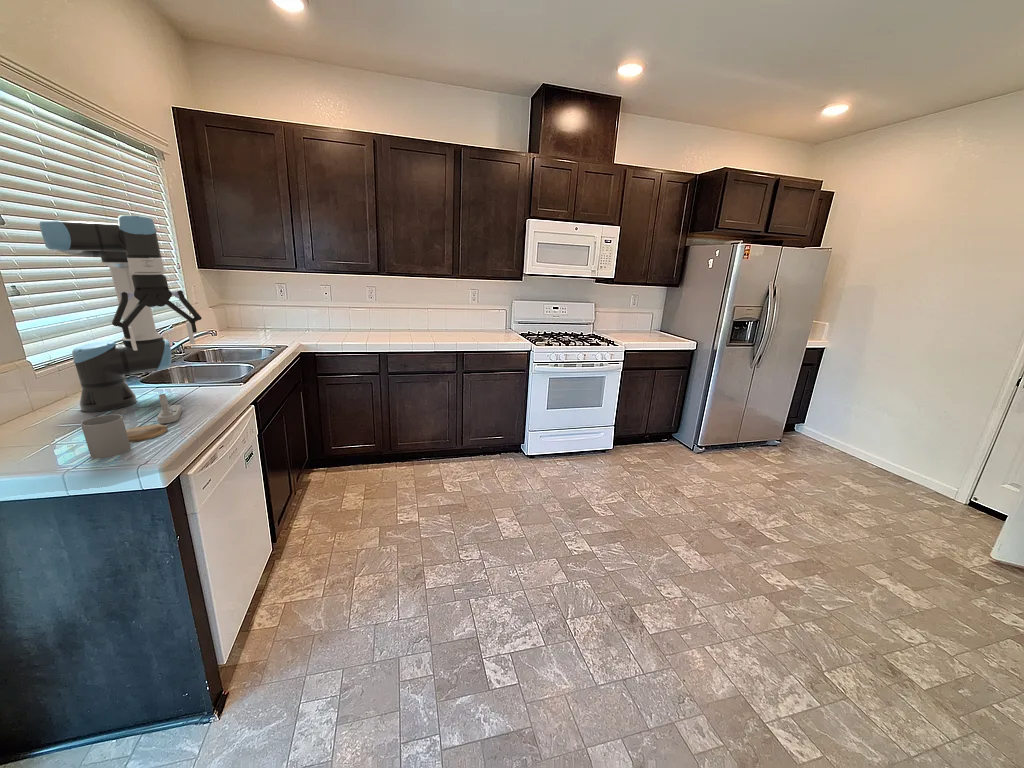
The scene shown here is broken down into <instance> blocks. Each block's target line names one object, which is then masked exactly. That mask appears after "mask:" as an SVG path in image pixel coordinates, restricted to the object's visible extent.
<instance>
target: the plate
mask: <svg viewBox="0 0 1024 768" xmlns="http://www.w3.org/2000/svg"><path fill="white" fill-rule="evenodd" d="M126 431H127V435H128V439H129V442H130V443H133V442H135V443H136V442H141V441H146V440H150V439H155V438H158V437H159V436H162V435H163V434H165V433H167V432H168V427H167V425H164V424H160V423H158V424H156V423H155V424H145V425H141V426H136V427H132V428H129V429H126Z"/></svg>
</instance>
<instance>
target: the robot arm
mask: <svg viewBox="0 0 1024 768" xmlns="http://www.w3.org/2000/svg"><path fill="white" fill-rule="evenodd" d="M117 221H118V223H117V222H116V223H115V222H102V221H101V222H97V221H82V220H80V221H79V220H78V221H77V220H75V221H74V220H73V221H72V220H71V221H66V220H55V219H54V220H53V219H52V220H40V221H39V223H38V226H39V228H40V232H41V237H42V240H43V243H44V245H45V247H46V248H47V249H49V250H53V251H58V252H60V253H63V254H67V255H71V256H77V257H83V258H84V257H85V258H101V259H100V260H101V263H102V264H103V265H105V266H107V267H108V268H109V270H110V274H111V278H112V282H113V285H114V286H113V287H114V290H115V293H116V298H117V302H118V306H117V309H116V312H115V313H114V316H113V319H112V321H111V324H112V325H113V326H114V327H118V328H121V329H122V334H123V336H124V337H123V338H122V343H120V344H118V343H117V342H115V341H113V340H105V341H103V340H102V341H97V342H96V341H95V342H91V343H87V344H83V345H79V346H77V347H75V348H73V350H72V352H71V354H72V358H73V364H74V365H75V369H76V372H77V375H78V379H79V383H80V386H81V395H80V400H79V406H80V407H79V408H80V410H81V411H83V412H87V413H93V412H94V413H95V412H105V411H113V410H116V409H122V408H126V407H129V406H131V405H133V404H136V402H138V400H137V396H136V394H135V393H134V391H133V390H132V389H131V387H130V386H129V384H127V382H126V379H125V376H128V375H135V374H141V373H142V374H143V373H144V374H145V373H150V372H151V373H152V372H158V371H163V370H167V369H169V368H170V367H171V365H172V348H171V344H170V341H169V340H168V339H165V338H164V336H163V335H162V334H161V333H159V332H157V329H156V325H155V320H154V316H153V312H152V308H155V307H160V308H161V307H162V308H163V307H164V306H167V307H169V308H170V309H172V310H173V311H174V312H176V313H177V314H179V315H180V316H181V317H183V318H184V319H185V320H187V321H186V322H185V326H186V328H187V334H188V338H189V343H190V345H195V344H196V341H195V336H194V334H196V333H198V332H197V331H198V330H197V325H196V323H197V322H198V321H201V320H202V316H201V315H200V314H199V313H198V312H197V310H196V309H195V308H194V307H193V306H192V304H191V303H190V302H189V300H187V298H186V297H185V294H184V291H183V290H180V289H176V290H170V289H169V285H168V280H167V276H166V275H165V274H163V273H166V272H165V271H166V270H165V267H164V263H163V262H164V261H163V257H162V255H161V249H160V245H159V244H160V243H159V239H158V236H157V231H158V230H157V228H156V226H155V223H154V222H155V221H154V220H153V219H152V218H151V217H150V216H143V215H142V216H141V215H133V214H132V215H131V214H129V215H125V214H121V215H118V217H117ZM172 296H174V297H175V298H177V299H179V301H180V302H181V303H182V304H183V306H184V307H185V308H186V309H187V310H188V312H189V313H191V315H192V316H193V317H192V316H191V315H189V314H188V313H186V312H185V311H183V310H182V309H181V308H180V307H178V306H177V305H176V304H174V303H173V302H172V301H171V298H172ZM121 320H122V322H121Z"/></svg>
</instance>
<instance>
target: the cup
mask: <svg viewBox="0 0 1024 768" xmlns="http://www.w3.org/2000/svg"><path fill="white" fill-rule="evenodd" d="M123 417H124V416H123V415H121V414H118V413H117V414H116V413H115V414H114V413H113V414H111V413H110V414H106V415H105V414H104V415H98V416H93V417H90V418H87V419H86V420H83V421H81V423H80V426H81V430H82V433H83V436H84V439H85V441H86V442H85V443H86V445H87V449H88V451H89V455H90V458H91V459H94V460H95V459H96V460H102V459H110V458H114V457H118V456H121V455H123V454H126V453H128V452H129V451H130V450H131V449H132V446H131V442H129V439H128V435H127V431H126V430H127V428H126V425H125V420H124V418H123Z"/></svg>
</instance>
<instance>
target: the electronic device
mask: <svg viewBox="0 0 1024 768" xmlns="http://www.w3.org/2000/svg"><path fill="white" fill-rule="evenodd" d="M158 398H159V402H160V408H161V410H160V411H159V413H158V415H157V416H156V418H157V421H158V424H159V425H164V424H170V423H175V422H176V421H178V420H179V418H180V417H181V415H182V412H183V408H182V405H180V404H173V405H172V404H171V405H170V404H169V402H168V399H167V395H166V393H161V394H158Z"/></svg>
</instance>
